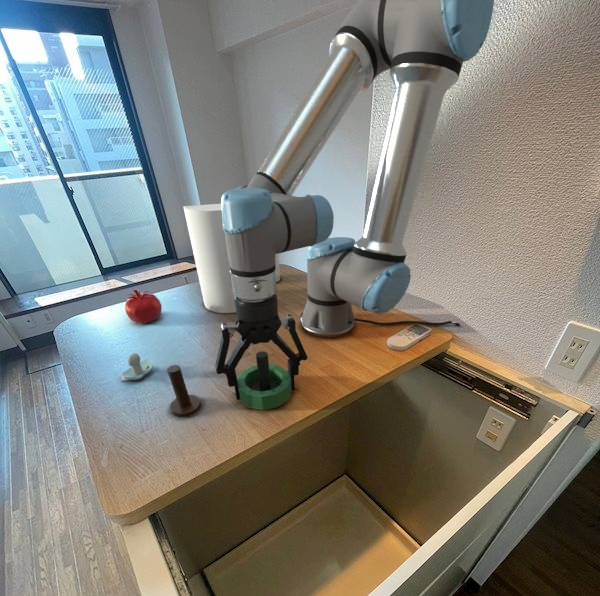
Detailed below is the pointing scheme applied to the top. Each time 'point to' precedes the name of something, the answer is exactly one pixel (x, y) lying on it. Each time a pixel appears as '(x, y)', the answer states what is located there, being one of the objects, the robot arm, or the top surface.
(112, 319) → the top surface
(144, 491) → the top surface
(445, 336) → the top surface
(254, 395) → the ring
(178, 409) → the walnut peg
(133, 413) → the top surface
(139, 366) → the pacifier
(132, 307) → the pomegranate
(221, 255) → the cylinder
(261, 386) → the charcoal peg
